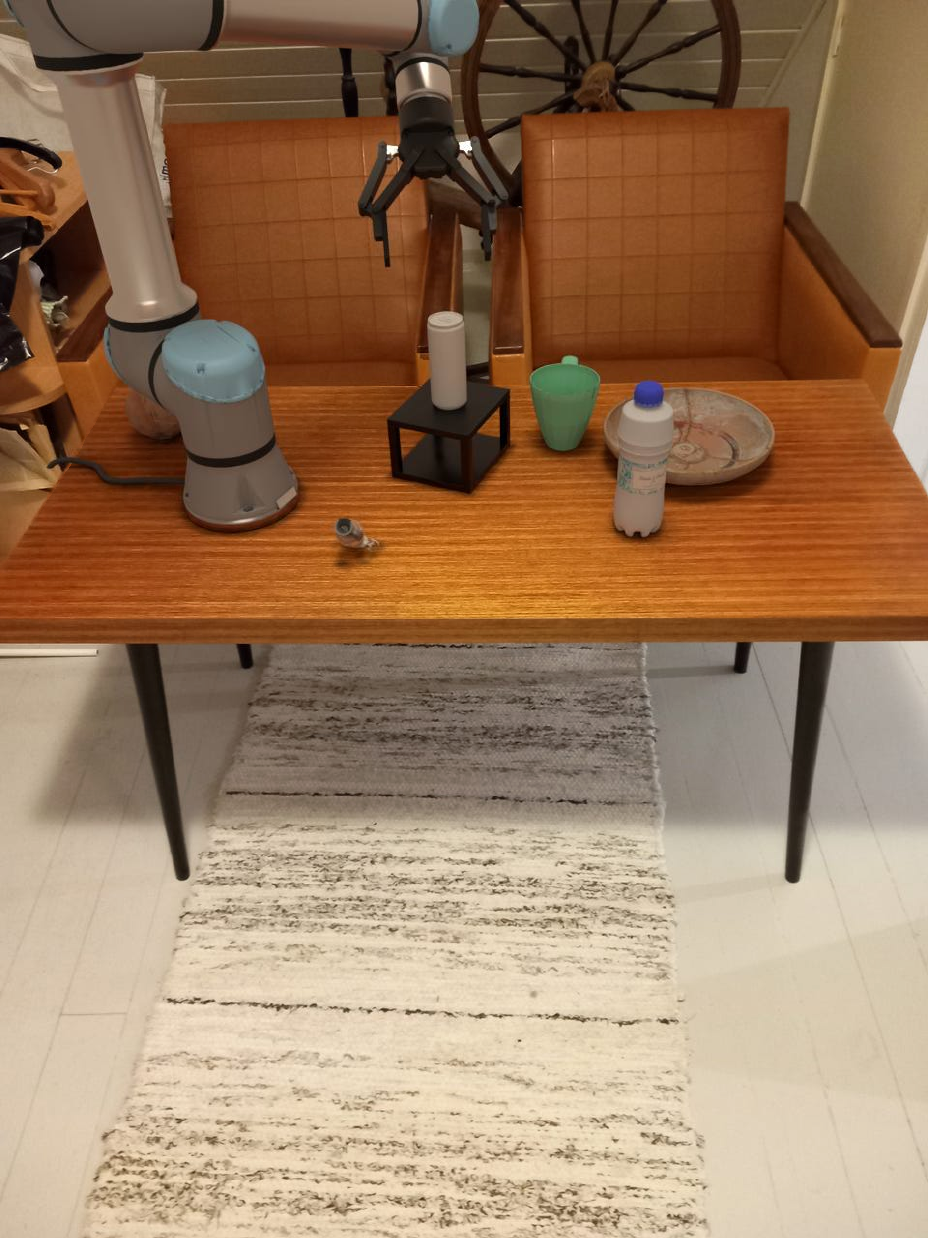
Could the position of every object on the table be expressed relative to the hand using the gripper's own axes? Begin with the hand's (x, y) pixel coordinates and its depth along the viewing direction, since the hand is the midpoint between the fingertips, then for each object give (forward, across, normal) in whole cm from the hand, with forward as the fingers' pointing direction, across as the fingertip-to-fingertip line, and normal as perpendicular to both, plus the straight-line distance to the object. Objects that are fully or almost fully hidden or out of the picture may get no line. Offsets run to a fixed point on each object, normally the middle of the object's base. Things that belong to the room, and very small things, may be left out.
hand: (437, 259), depth 132 cm
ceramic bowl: (+28, -33, -8) cm, 44 cm away
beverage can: (+19, 0, -4) cm, 19 cm away
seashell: (+40, +14, +4) cm, 42 cm away
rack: (+25, 0, -10) cm, 27 cm away
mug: (+21, -17, -14) cm, 31 cm away
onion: (+15, +42, -20) cm, 49 cm away
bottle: (+39, -22, +4) cm, 45 cm away
